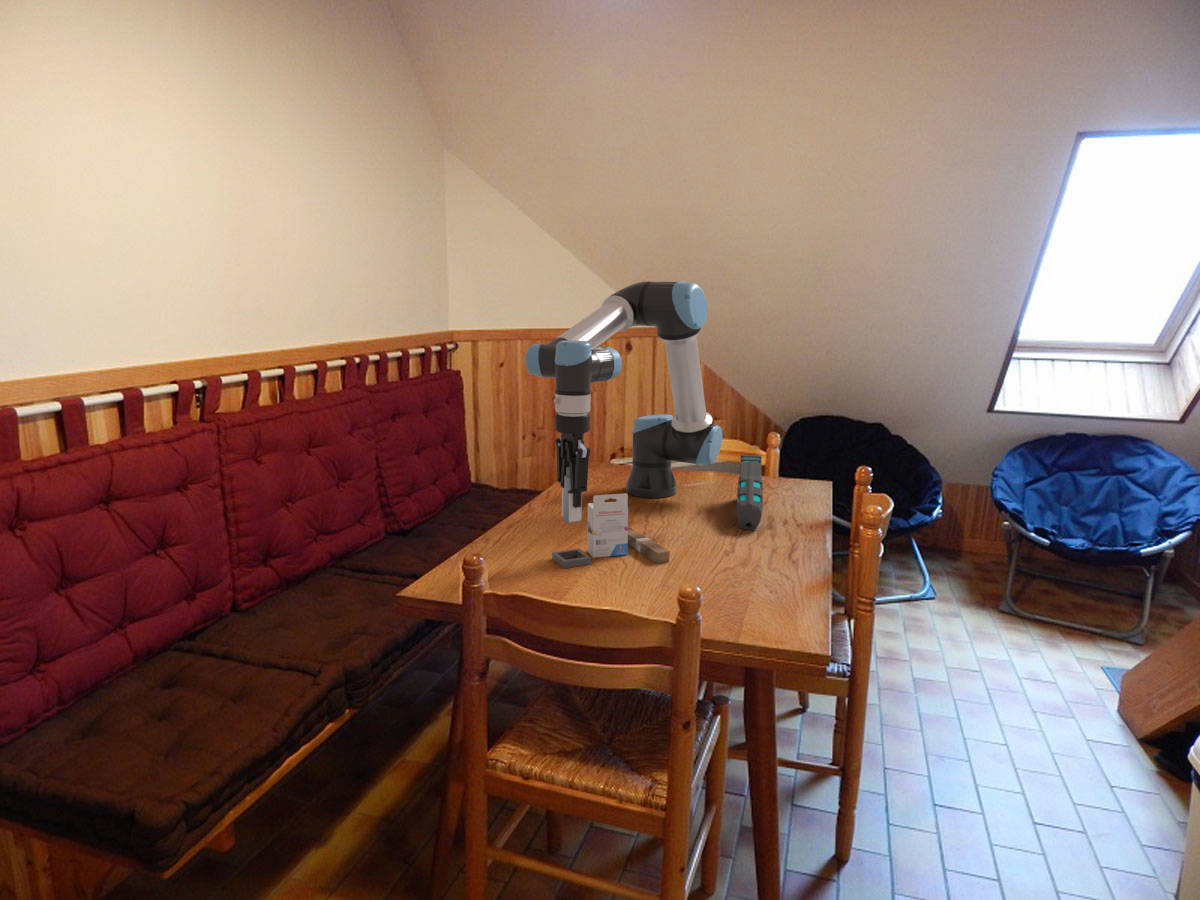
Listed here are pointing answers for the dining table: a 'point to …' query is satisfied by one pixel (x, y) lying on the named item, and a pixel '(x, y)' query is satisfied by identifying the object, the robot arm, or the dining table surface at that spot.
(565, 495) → the blue bottle
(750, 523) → the gun
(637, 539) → the grey-brown long bar
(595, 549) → the ink box
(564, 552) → the holder
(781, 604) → the dining table surface
